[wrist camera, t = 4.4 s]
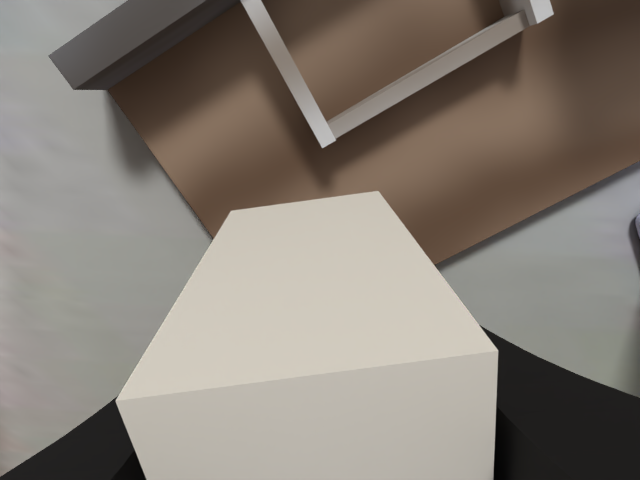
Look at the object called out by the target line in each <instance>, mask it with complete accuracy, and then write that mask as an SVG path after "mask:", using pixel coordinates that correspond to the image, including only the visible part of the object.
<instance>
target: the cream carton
mask: <svg viewBox="0 0 640 480" xmlns="http://www.w3.org/2000/svg"><path fill="white" fill-rule="evenodd" d="M497 372H498V350H497V348H496V347H495V346H494V344H493V343H492V342H491V340H490V339H489V338H488V336H487V335H486V334H485V332H484V331H483V330H482V328H481V327H480V326H479V324H478V323H477V322H476V320H475V319H474V318H473V316H472V315H471V314H470V312H469V311H468V310H467V308H466V307H465V306H464V304H463V303H462V302H461V300H460V299H459V298H458V296H457V295H456V294H455V292H454V291H453V290H452V288H451V287H450V286H449V284H448V283H447V282H446V280H445V279H444V278H443V276H442V275H441V274H440V272H439V271H438V270H437V268H436V267H435V266H434V264H433V263H432V262H431V260H430V259H429V258H428V256H427V255H426V254H425V252H424V251H423V250H422V248H421V247H420V246H419V244H418V243H417V242H416V240H415V239H414V238H413V236H412V235H411V234H410V232H409V231H408V230H407V228H406V227H405V226H404V224H403V223H402V222H401V220H400V219H399V218H398V216H397V215H396V214H395V212H394V211H393V210H392V208H391V207H390V206H389V204H388V203H387V202H386V200H385V199H384V198H383V196H382V195H381V194H380V192H379V191H373V192H366V193H359V194H351V195H344V196H336V197H329V198H322V199H314V200H307V201H299V202H292V203H285V204H277V205H270V206H262V207H255V208H248V209H240V210H233V211H231V212H230V213H229V215H228V217H227V218H226V220H225V221H224V223H223V225H222V226H221V228H220V230H219V231H218V233H217V235H216V236H215V238H214V240H213V241H212V243H211V244H210V246H209V248H208V249H207V251H206V253H205V254H204V256H203V258H202V259H201V261H200V263H199V264H198V266H197V267H196V269H195V271H194V272H193V274H192V276H191V277H190V279H189V281H188V282H187V284H186V286H185V287H184V289H183V290H182V292H181V294H180V295H179V297H178V299H177V300H176V302H175V304H174V305H173V307H172V309H171V310H170V312H169V313H168V315H167V317H166V318H165V320H164V322H163V323H162V325H161V327H160V328H159V330H158V332H157V333H156V335H155V337H154V338H153V340H152V341H151V343H150V345H149V346H148V348H147V350H146V351H145V353H144V355H143V356H142V358H141V360H140V361H139V363H138V364H137V366H136V368H135V369H134V371H133V373H132V374H131V376H130V378H129V379H128V381H127V383H126V384H125V386H124V387H123V389H122V391H121V392H120V394H119V396H118V397H117V399H116V401H115V402H116V404H117V407H118V409H119V412H120V414H121V417H122V419H123V422H124V424H125V427H126V429H127V432H128V434H129V437H130V439H131V442H132V444H133V447H134V449H135V452H136V454H137V457H138V459H139V462H140V464H141V467H142V470H143V472H144V475H145V477H146V480H493V476H494V450H495V424H496V398H497Z"/></svg>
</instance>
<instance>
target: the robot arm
mask: <svg viewBox="0 0 640 480" xmlns="http://www.w3.org/2000/svg"><path fill="white" fill-rule="evenodd" d="M635 224H636V228H637V231H638V235H639V238H640V214H639V215H638V216H637V218H636V220H635ZM479 326H480V325H479ZM480 327H481V328H482V330H483V331H484V332H485V334H486V335H487V336H488V338H489V339H490V340H491V342H492V343H493V344H494V346H495V347H496V348H497V350H498V372H497V398H496V424H495V450H494V476H493V480H640V398H638V397H636V396H633V395H630V394H627V393H625V392H622V391H619V390H617V389H614V388H611V387H608V386H606V385H603V384H600V383H598V382H595V381H592V380H590V379H588V378H585V377H583V376H580V375H578V374H575V373H573V372H571V371H568V370H566V369H564V368H562V367H559V366H557V365H555V364H553V363H550V362H548V361H546V360H544V359H542V358H539V357H537V356H535V355H533V354H531V353H529V352H527V351H525V350H523V349H521V348H519V347H517V346H516V345H514V344H512V343H510V342H508V341H506V340H504V339H503V338H501V337H499V336H497V335H495V334H494V333H492V332H490V331H488V330H487V329H485V328H483V327H482V326H480ZM118 396H119V395H118ZM118 396H117V397H118ZM117 397H116V398H115V399H113V400H112V401H111V402H110V403H108V404H107V405H106V406H104V407H103V408H102V409H101V410H99V411H98V412H97V413H95V414H94V415H93V416H91V417H90V418H88V419H87V420H86V421H84V422H83V423H81V424H80V425H79V426H77V427H76V428H75V429H73V430H72V431H70V432H69V433H68V434H66V435H65V436H63V437H62V438H60V439H59V440H57V441H56V442H54V443H53V444H51V445H50V446H48V447H46V448H45V449H43V450H42V451H40V452H39V453H37V454H36V455H34V456H32V457H31V458H29V459H28V460H26V461H25V462H23V463H21V464H20V465H18V466H17V467H15V468H14V469H12V470H10V471H9V472H7V473H6V474H4V475H3V476H1V477H0V480H146V477H145V475H144V472H143V470H142V467H141V464H140V462H139V459H138V457H137V454H136V452H135V449H134V447H133V444H132V442H131V439H130V437H129V434H128V432H127V429H126V427H125V424H124V422H123V419H122V417H121V414H120V412H119V409H118V407H117V404H116V402H115V401H116V399H117Z"/></svg>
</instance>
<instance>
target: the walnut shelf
mask: <svg viewBox="0 0 640 480" xmlns="http://www.w3.org/2000/svg"><path fill="white" fill-rule="evenodd" d="M49 58H50V59H51V60H52V62H53V63H54V64H55V66H56V67H57V68H58V70H59V71H60V72H61V74H62V75H63V76H64V78H65V79H66V80H67V82H68V83H69V84H70V86H71V87H72V88H73V90H108V91H109V93H110V94H111V96H112V97H113V98H114V100H115V101H116V103H117V104H118V105H119V107H120V108H121V110H122V111H123V112H124V114H125V115H126V117H127V118H128V119H129V121H130V122H131V124H132V125H133V126H134V128H135V129H136V131H137V132H138V133H139V135H140V136H141V138H142V139H143V140H144V142H145V143H146V145H147V146H148V147H149V149H150V150H151V152H152V153H153V154H154V156H155V157H156V159H157V160H158V161H159V163H160V164H161V166H162V167H163V168H164V170H165V171H166V173H167V174H168V175H169V177H170V178H171V180H172V181H173V182H174V184H175V185H176V187H177V188H178V189H179V191H180V192H181V194H182V195H183V196H184V198H185V199H186V200H187V202H188V203H189V205H190V206H191V207H192V209H193V210H194V212H195V213H196V214H197V216H198V217H199V219H200V220H201V221H202V223H203V224H204V226H205V227H206V228H207V230H208V231H209V233H210V234H211V235H212V237H213V238H215V236H216V235H217V233H218V231H219V230H220V228H221V226H222V225H223V223H224V221H225V220H226V218H227V217H228V215H229V213H230V212H231V211H233V210H240V209H248V208H255V207H262V206H270V205H277V204H285V203H292V202H299V201H307V200H314V199H322V198H329V197H336V196H344V195H351V194H359V193H366V192H373V191H379V192H380V194H381V195H382V196H383V198H384V199H385V200H386V202H387V203H388V204H389V206H390V207H391V208H392V210H393V211H394V212H395V214H396V215H397V216H398V218H399V219H400V220H401V222H402V223H403V224H404V226H405V227H406V228H407V230H408V231H409V232H410V234H411V235H412V236H413V238H414V239H415V240H416V242H417V243H418V244H419V246H420V247H421V248H422V250H423V251H424V252H425V254H426V255H427V256H428V258H429V259H430V260H431V262H432V263H433V264H434V265H436V264H438V263H439V262H441V261H443V260H445V259H447V258H449V257H451V256H453V255H455V254H457V253H459V252H461V251H463V250H465V249H467V248H469V247H471V246H473V245H475V244H477V243H479V242H481V241H483V240H485V239H487V238H489V237H491V236H493V235H495V234H497V233H499V232H501V231H502V230H504V229H506V228H508V227H510V226H512V225H514V224H516V223H518V222H520V221H522V220H524V219H526V218H528V217H530V216H532V215H534V214H536V213H538V212H540V211H542V210H544V209H546V208H548V207H550V206H552V205H554V204H556V203H558V202H560V201H562V200H564V199H565V198H567V197H569V196H571V195H573V194H575V193H577V192H579V191H581V190H583V189H585V188H587V187H589V186H591V185H593V184H595V183H597V182H599V181H601V180H603V179H605V178H607V177H609V176H611V175H613V174H615V173H617V172H619V171H621V170H623V169H625V168H627V167H629V166H630V165H632V164H634V163H636V162H638V161H640V0H128V1H126V2H125V3H123V4H122V5H121V6H119V7H118V8H116V9H115V10H113V11H112V12H111V13H109V14H108V15H106V16H105V17H103V18H102V19H100V20H99V21H98V22H96V23H95V24H93V25H92V26H90V27H89V28H88V29H86V30H85V31H83V32H82V33H80V34H79V35H77V36H76V37H75V38H73V39H72V40H70V41H69V42H67V43H66V44H65V45H63V46H62V47H60V48H59V49H57V50H56V51H55V52H53V53H52V54H50V55H49Z"/></svg>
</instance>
